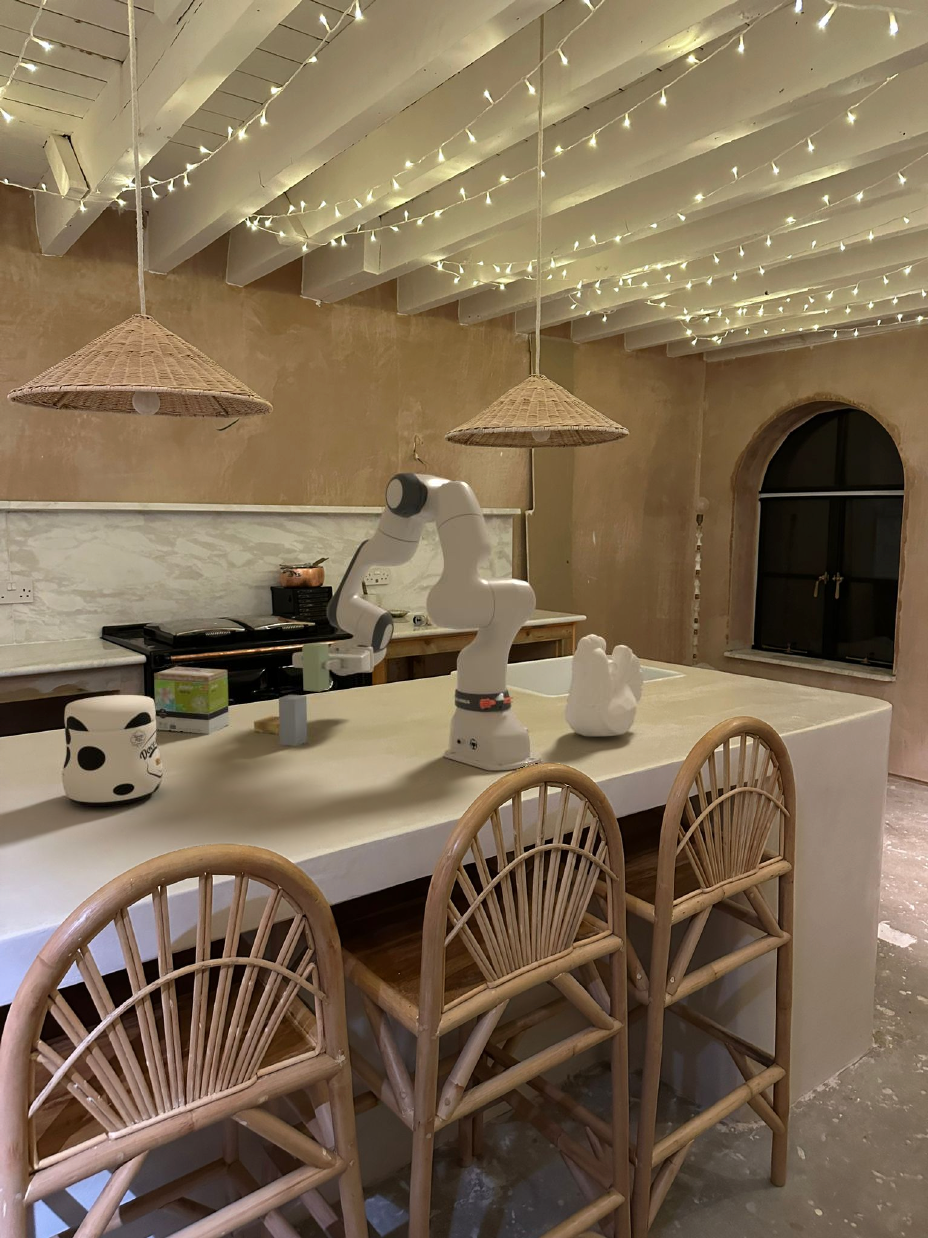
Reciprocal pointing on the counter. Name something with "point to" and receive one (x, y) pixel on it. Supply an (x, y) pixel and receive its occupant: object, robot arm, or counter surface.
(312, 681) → the green block
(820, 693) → the counter surface
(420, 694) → the counter surface
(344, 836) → the counter surface
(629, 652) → the decorative rooster
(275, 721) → the ochre slab
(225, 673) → the tea box
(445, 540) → the robot arm
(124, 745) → the spotted treat jar
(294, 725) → the slate block
